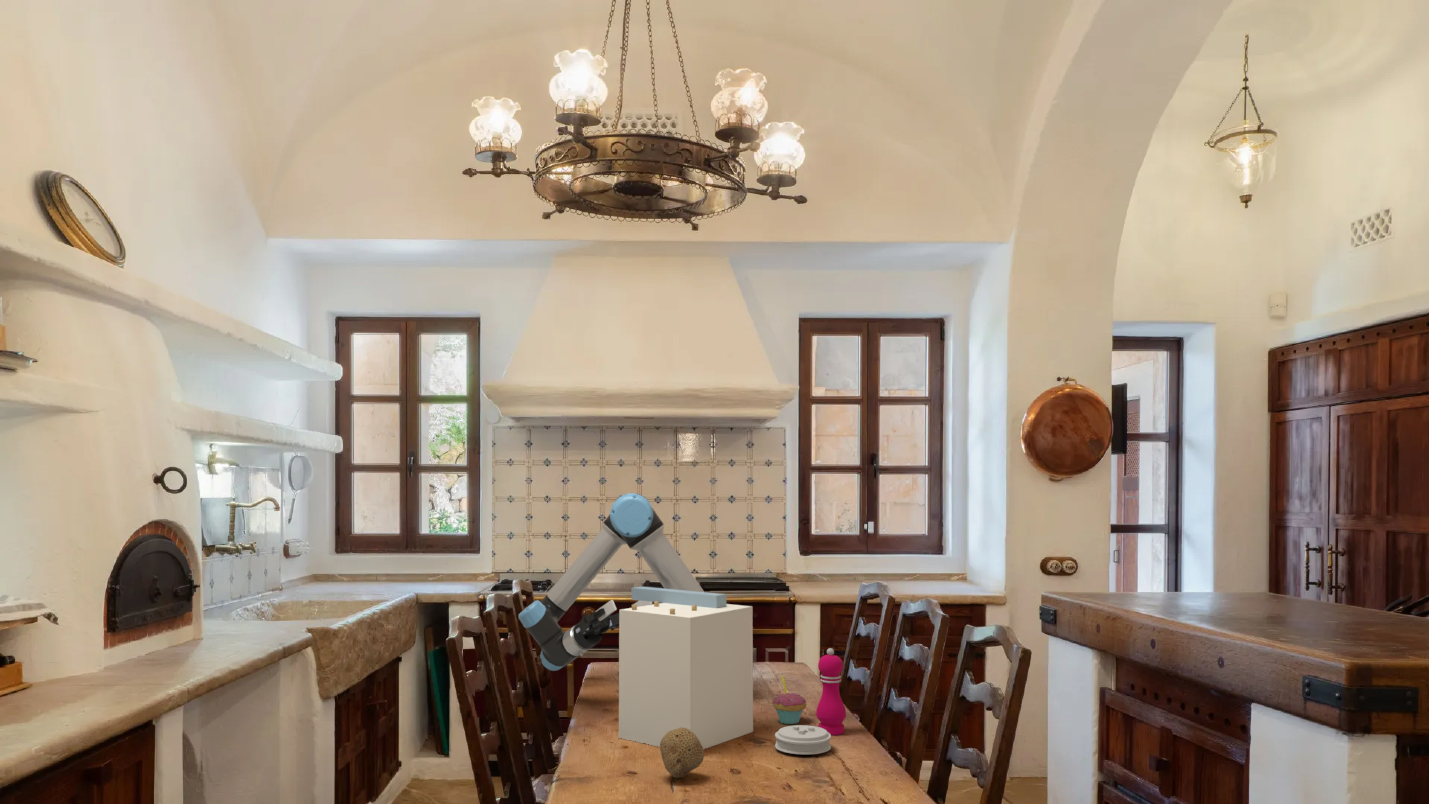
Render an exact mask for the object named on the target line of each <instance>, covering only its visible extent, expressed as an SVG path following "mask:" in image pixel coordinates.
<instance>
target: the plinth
mask: <svg viewBox="0 0 1429 804" xmlns="http://www.w3.org/2000/svg"><path fill="white" fill-rule="evenodd" d="M631 607H632V608H631ZM631 607H629V608H621V609H619V612H618V613H619V627H618V628H619V630H618V631H619V634H618V646H619V647H618V650H619V651H618V739H621V738H622V740H627V741H630V740H631V742H635V741H636V742H635V743H639V744H643V743H646V744H645V745H648V744H649V746H653V747H657V746H658V747H657V748H660V743H661V740H662V738H663V737H664V735H665V734H666V733H667V732H669V731H671V730H673V729H678V728H680V727H682V728H686V729H689V730H690V731H692V732H693V733H694V734H695V735H696V736H697V738H698V739H699V741H700V743H701V745H702V747H703V749H704V750H705V748H706V749H709V748H711V747H714V746H717V745H720V744H723V743H725V742H728V741H730V740H734V739H736V738H739V737H742V736H744V735H745V736H746V735H749V734H750V733H751V734H752V733H753V732H754V666H753V665H754V664H753V663H754V658H753V657H754V655H753V654H754V645H753V643H754V642H753V640H754V638H753V637H754V636H753V634H754V633H753V630H754V627H753V623H754V622H753V615H754V614H753V613H754V612H753V611H754V610H753V607H754V606H752V605H741V604H730V603H726V607H721V608H708V607H698V606H697V605H692V606H689V605H679V604H669V603H660V602H659V601H654V602H653V603H652V605H647V606H640V607H637V605H636V604H633V603H632V604H631Z"/></svg>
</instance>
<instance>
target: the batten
mask: <svg viewBox="0 0 1429 804" xmlns="http://www.w3.org/2000/svg"><path fill="white" fill-rule="evenodd" d="M631 600H632V601H639V600H640V601H650V602H652V603H654V601H659V603H669V604H679V605H689V606H692V605H697V606H698V607H708V608H721V607H726V604H727V594H725V593H718V592H707V591H704V592H697V591H686V590H675V589H664V587H663V588H662V587H653V586H637V587H635V586H634V587H631Z"/></svg>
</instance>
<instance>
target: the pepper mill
mask: <svg viewBox="0 0 1429 804" xmlns="http://www.w3.org/2000/svg"><path fill="white" fill-rule="evenodd" d="M817 666H818V670H819V671H820V673H821V674H820V682H822V691H821V692H822V693H821V697H820V698H819V702H818V703H817V706H816V713H815V715H816V718H817V719H818V721H819V722H818V725H817V727H820V728H823V729H825V730H826V731H827V732H828V733H830V735H831V736H840V735H843V734H844V733H845V724H844V723H843V722H844V721H845V720H846V717H847V711H846V706H845V704H844V701H843V700H842V697H841V694H840V683H841V681H842V676H841V675H840V674H841V673H842V671H843V669H844V664H843V660H842V659H841V657H839V656H838V655H835V650H834V648H831V647H829V648H828V649H827V650H826V654H825V655H822V656H821V657H820V658H819V660H818V665H817Z"/></svg>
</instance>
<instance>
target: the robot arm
mask: <svg viewBox="0 0 1429 804" xmlns="http://www.w3.org/2000/svg"><path fill="white" fill-rule="evenodd" d="M664 528H665V524H664V522H663V521H662V519H661V518H660V517H659V515H658V514H657V512H656V511H655V509H654V508H653V507H652V505H651V502H650V501H649V500H648V499H647V498H646V497H645V496H643V495H642V494H639V493H636V492H635V493H634V492H629V493H625V494H622V495H621V496H619V497H618V498H617V499H616V500H615V501H614V502H613V504H612V505H611V508H610V513H609V515H608V516H607V517H606V519H605V520H604V521H603V522H602V528H601V530H600V531H598V533H596V535H595V537H594V538H593V539H592V540H591V541H590V543H589V544H588V545H587V546H586V547H585V548H584V550H583V551H582V552H581V554H579V556H578V557H577V558H576V559H575V560H574V562H572V564H571V565H570V566H569V568H567V570H566V571H565V572H564V574H562V576H561V577H560V578H559V579H558V581H557V582H556V583H555V584H554V585H553V587H552V588H551V589H550V590H549V592H548V593H546V595H545V596H544V597H543V598H542V599H541V600H538V599H536V600H534V601H533V602H532V603H531V604H529V605H528V606H526V607H525V608H524V609H523V610H522V611H521V612H520V613H518V617H517V618H518V620H519V621H520V623H521V624H522V626H523V628H525V629H526V631H527V632H528V633H529V634H530V636H531V637H532V638H533V639H534V641H535V642H536V643H537V644H538V646H539V647H540V649H541V652H540V655H539V656H540V659H541V660H540V661H541V664H542V665H543V667H544V668H546V669H547V670H549V671H552V672H554V671H555V672H556V671H559V670H561V669H562V668H564V667H567V665H569V664H570V663H572V662H574V661H575V660H576V659H578V657H583V656H584V653H586V652H588V651H589V650H590V649H592V648H593V647H595V646H596V645H598V644H599V643H601V640H602V638H603V634H605V633H607V632H608V631H609V630H610V631H614V630H616V629H618V628H619V612H617V613H614V612H615V611H617V609H618V608H617V606H616V604H615V602H614V599H611V600H609V601H608V602H606V603H605V604H603V605H602V606H600V607H599V608H598V609H597V610H595V611H593V612H591V613H590V615H589V613H585V614H584V615H582V618H581V619H580V621H579V622H578V623H576V624H575V625H573V626H572V627H570V628H569V629H568V630H566V631H564V630H563V628H562V627H561V626H560V625H559V623H558V622H559V621H560V620H561V618H562V617H563V616H564V615H565V614H566V612H567V611H568V610H569V608H570V607H571V606H572V605H573V604H574V603H575V601H576V600H577V599H578V598H579V597H580V595H581V594H582V593H583V592H584V591H585V590H586V589H587V588H588V586H589V585H590V584H591V583H592V581H593V580H594V579H595V578H596V577H597V576H598V574H599V573H600V572H601V571H602V570H603V568H604V567H605V566H606V565H607V564H608V562H609V561H610V560H611V559H612V558H613V557H614V555H615V554H616V553H617V552H618V551H619V549H620V548H622V546H623V545H627V547H628V548H629V549H630V550H633V551H637V552H639V554H640V555H641V557H642V558H643V560H644V561H645V562H646V564H647V565H648V567H649V569H651V571H652V573H653V574H654V575H655V577H656V578H657V580H658V581H659V583H660V584H661V585H662V587H663V588H664V589H675V590H686V591H697V592H705V591H704V589H703V588H702V587H701V585H700V583H699V582H698V581H697V579H696V578H695V577H694V575H693V573H692V572H691V571H690V569H689V568H688V566H687V565H686V564H685V562H684V561H683V559H682V558H681V556H680V555H679V553H678V552H677V550H676V549H675V548H674V546H673V545H672V543H671V542H670V540H669V539H668V537H667V536H666V535H665V533H664V531H665V529H664ZM633 604H636V605H637V607H640V606H647V605H653V602H650V601H640V600H637V601H636V602H634V603H632V605H633ZM630 608H632V606H631V607H630ZM613 613H614V614H613ZM612 614H613V615H612ZM609 619H610V620H609Z"/></svg>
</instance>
